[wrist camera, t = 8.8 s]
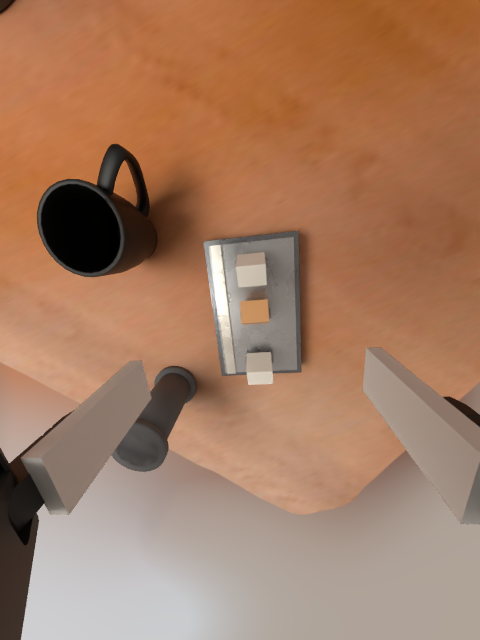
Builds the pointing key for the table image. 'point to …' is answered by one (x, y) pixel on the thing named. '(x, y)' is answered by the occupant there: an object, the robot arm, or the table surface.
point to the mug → (97, 221)
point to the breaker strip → (279, 291)
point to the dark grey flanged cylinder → (156, 421)
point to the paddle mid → (255, 312)
